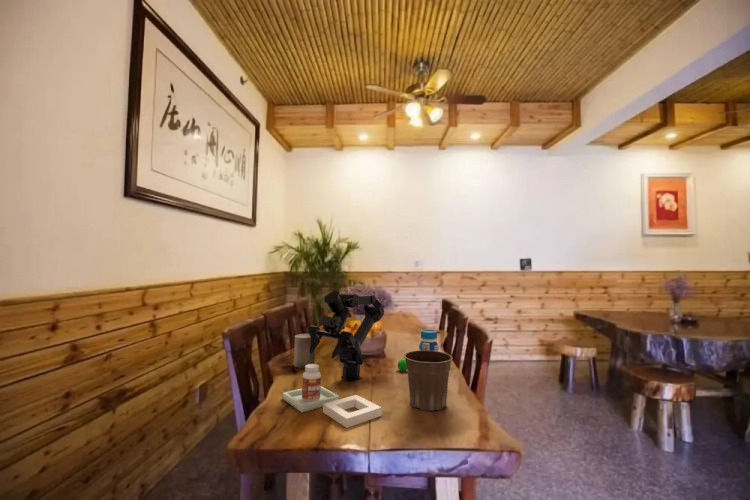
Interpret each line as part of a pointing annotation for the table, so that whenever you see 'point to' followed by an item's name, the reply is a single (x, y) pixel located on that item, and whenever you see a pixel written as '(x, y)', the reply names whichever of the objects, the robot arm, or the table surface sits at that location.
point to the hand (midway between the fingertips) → (321, 355)
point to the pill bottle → (311, 383)
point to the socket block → (349, 419)
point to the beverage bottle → (428, 340)
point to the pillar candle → (303, 351)
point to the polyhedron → (402, 365)
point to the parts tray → (303, 406)
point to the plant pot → (428, 378)
